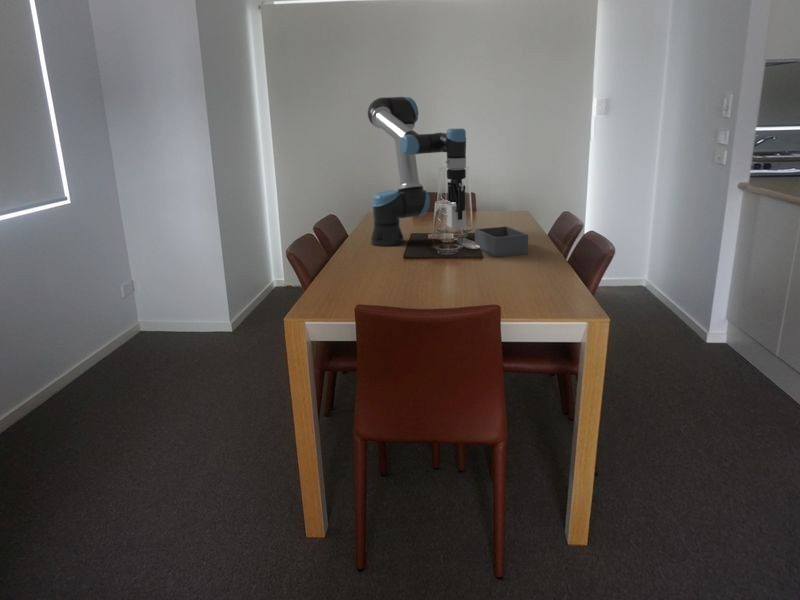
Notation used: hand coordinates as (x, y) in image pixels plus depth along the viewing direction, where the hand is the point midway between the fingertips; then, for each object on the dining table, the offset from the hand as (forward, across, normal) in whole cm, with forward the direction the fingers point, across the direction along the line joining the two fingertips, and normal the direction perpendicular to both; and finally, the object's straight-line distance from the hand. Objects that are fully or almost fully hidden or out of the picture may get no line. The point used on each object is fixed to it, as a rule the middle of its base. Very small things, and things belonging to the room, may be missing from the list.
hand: (456, 225), depth 247 cm
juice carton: (0, 0, 0) cm, 0 cm away
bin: (+12, +2, +19) cm, 23 cm away
